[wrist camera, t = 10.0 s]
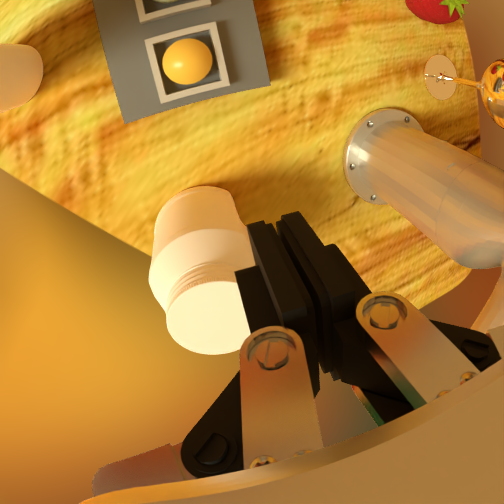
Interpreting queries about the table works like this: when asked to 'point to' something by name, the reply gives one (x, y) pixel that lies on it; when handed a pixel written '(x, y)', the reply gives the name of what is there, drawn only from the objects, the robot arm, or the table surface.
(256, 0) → the table surface
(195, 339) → the jar
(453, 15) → the strawberry
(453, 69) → the wineglass
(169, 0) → the sage button
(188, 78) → the amber button
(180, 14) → the button panel
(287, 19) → the table surface
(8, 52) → the cylindrical container
